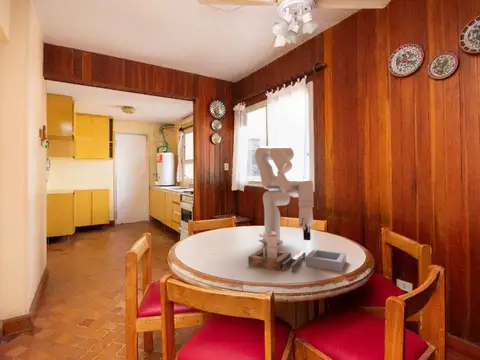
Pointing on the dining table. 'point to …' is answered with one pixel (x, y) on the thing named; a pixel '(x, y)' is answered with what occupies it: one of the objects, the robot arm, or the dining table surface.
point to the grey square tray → (326, 259)
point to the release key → (299, 256)
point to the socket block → (274, 261)
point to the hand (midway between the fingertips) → (307, 239)
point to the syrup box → (270, 244)
